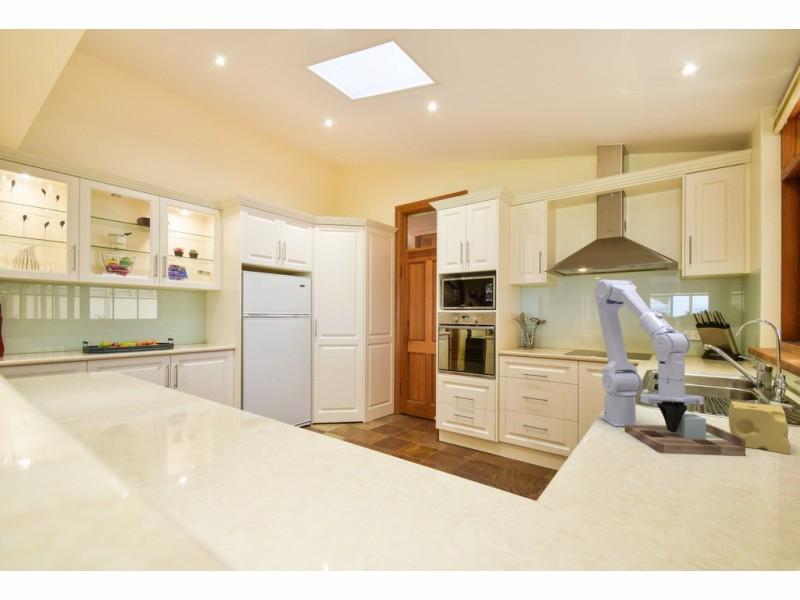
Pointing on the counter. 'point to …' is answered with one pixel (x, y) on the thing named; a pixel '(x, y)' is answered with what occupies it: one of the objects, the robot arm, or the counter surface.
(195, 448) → the counter surface
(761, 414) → the cheese
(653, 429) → the board
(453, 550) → the counter surface
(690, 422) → the blue block
